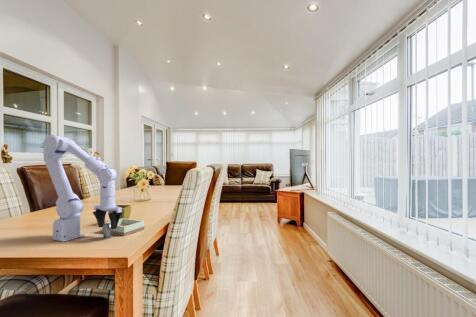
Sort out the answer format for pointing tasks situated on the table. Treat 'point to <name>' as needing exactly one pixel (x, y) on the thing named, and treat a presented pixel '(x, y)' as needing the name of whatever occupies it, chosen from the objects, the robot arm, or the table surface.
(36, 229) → the table surface
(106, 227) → the peg
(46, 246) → the table surface
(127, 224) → the box
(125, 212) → the flower pot
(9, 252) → the table surface
